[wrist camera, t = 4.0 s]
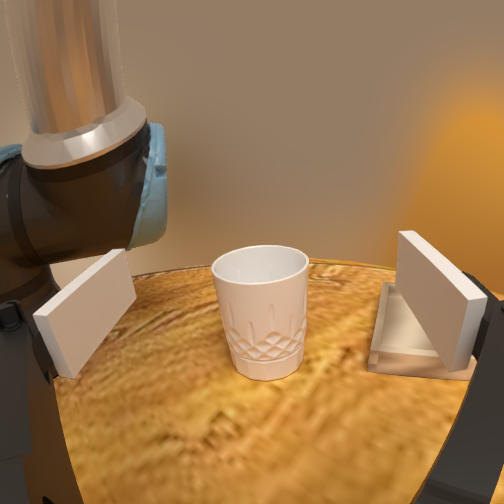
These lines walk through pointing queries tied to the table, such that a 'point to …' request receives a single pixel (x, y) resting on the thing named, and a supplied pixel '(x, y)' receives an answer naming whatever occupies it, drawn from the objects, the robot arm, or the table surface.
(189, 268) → the table surface
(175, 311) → the table surface
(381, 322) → the birch tray
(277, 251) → the white cup
